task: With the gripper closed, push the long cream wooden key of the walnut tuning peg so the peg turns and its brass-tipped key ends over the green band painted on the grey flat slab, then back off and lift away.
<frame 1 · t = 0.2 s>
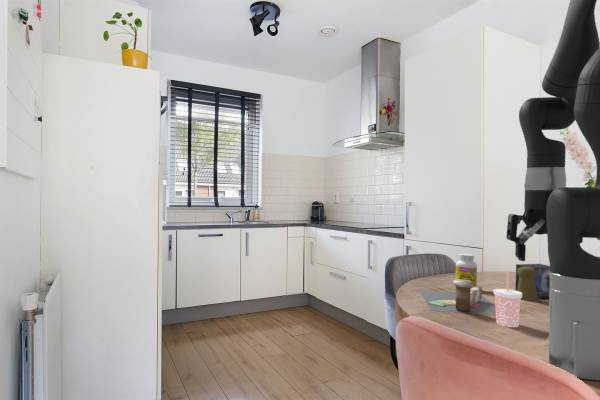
hand: (542, 261, 81), 17 cm above the table, tool pointing down, fingers open, 8 cm apart
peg: (470, 291, 103), point 5 cm above the table, hinge at -30.0°
grey flat slab: (458, 305, 108), on the table
beverage cup: (507, 329, 88), on the table
small box: (535, 297, 120), on the table
supplement bottle: (465, 292, 126), on the table
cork: (526, 303, 112), on the table
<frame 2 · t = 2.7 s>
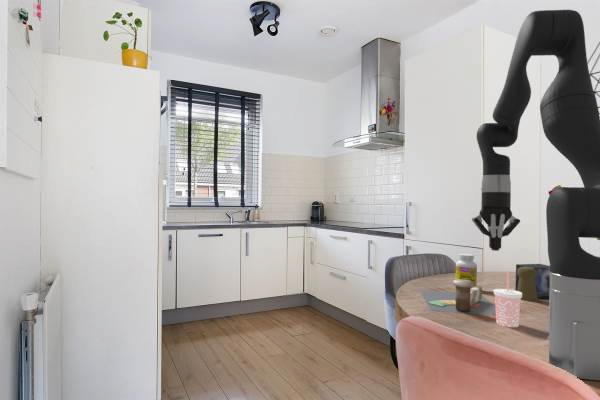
hand: (495, 250, 106), 17 cm above the table, tool pointing down, fingers closed
nothing on the table moved.
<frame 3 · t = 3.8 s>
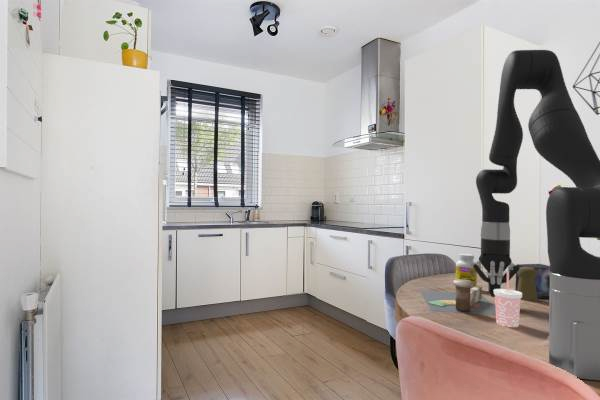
hand: (494, 296, 106), 3 cm above the table, tool pointing down, fingers closed
nothing on the table moved.
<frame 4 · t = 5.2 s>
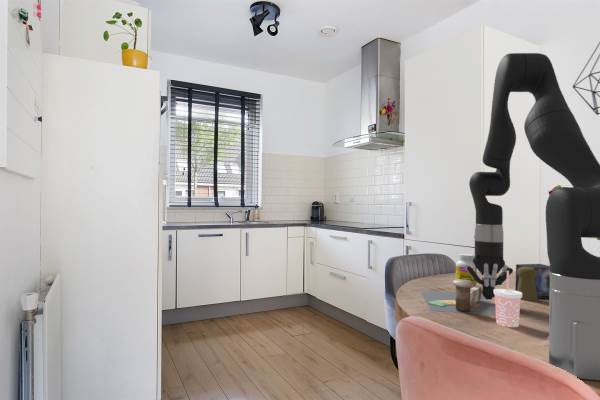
hand: (488, 298, 106), 3 cm above the table, tool pointing down, fingers closed
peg: (469, 291, 103), point 5 cm above the table, hinge at -29.6°, touching gripper
everything else where it was.
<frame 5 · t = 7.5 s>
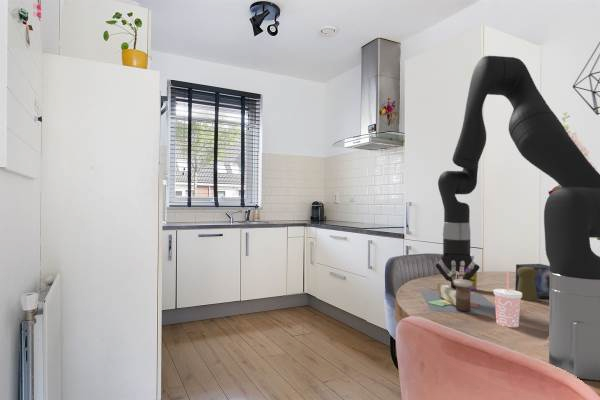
hand: (456, 294, 109), 3 cm above the table, tool pointing down, fingers closed
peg: (452, 289, 105), point 5 cm above the table, hinge at 12.3°, touching gripper
everything else where it was.
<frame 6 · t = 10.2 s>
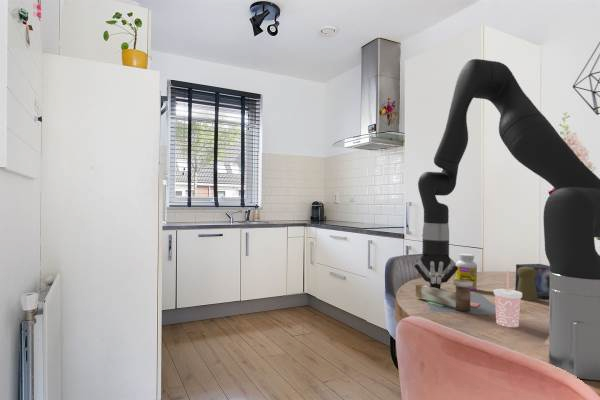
hand: (435, 295, 109), 2 cm above the table, tool pointing down, fingers closed
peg: (442, 290, 103), point 5 cm above the table, hinge at 44.4°
everything else where it was.
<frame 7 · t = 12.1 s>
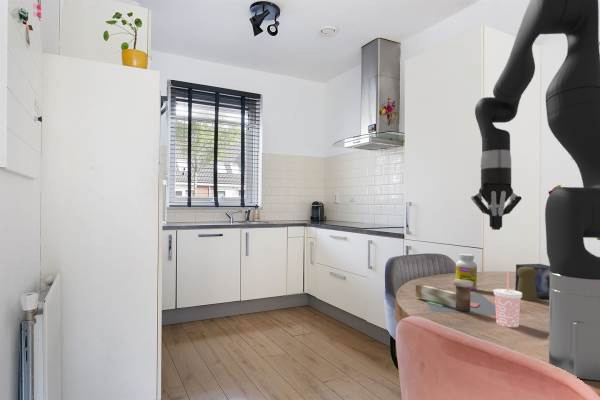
hand: (495, 229, 101), 23 cm above the table, tool pointing down, fingers closed
nothing on the table moved.
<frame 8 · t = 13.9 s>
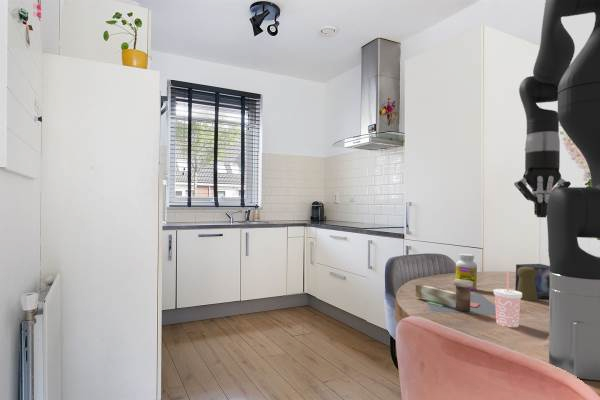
hand: (541, 217, 95), 27 cm above the table, tool pointing down, fingers closed
nothing on the table moved.
at the end: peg at +44° (first picture: -30°); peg touching nothing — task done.
